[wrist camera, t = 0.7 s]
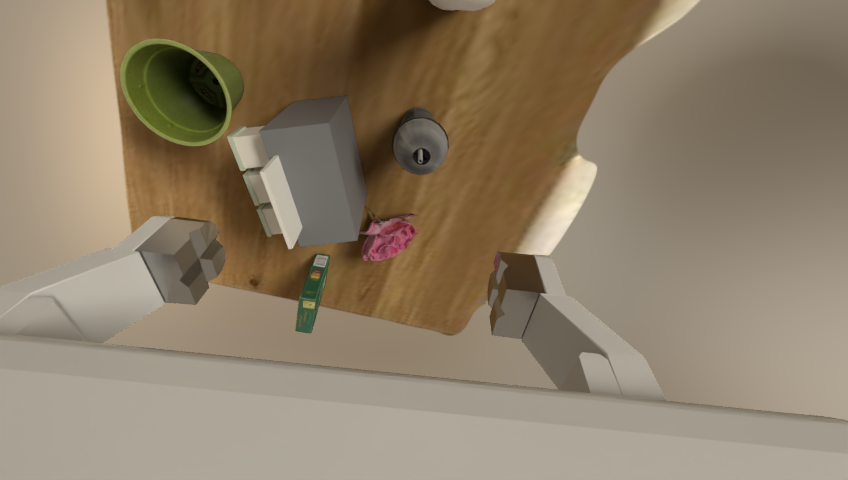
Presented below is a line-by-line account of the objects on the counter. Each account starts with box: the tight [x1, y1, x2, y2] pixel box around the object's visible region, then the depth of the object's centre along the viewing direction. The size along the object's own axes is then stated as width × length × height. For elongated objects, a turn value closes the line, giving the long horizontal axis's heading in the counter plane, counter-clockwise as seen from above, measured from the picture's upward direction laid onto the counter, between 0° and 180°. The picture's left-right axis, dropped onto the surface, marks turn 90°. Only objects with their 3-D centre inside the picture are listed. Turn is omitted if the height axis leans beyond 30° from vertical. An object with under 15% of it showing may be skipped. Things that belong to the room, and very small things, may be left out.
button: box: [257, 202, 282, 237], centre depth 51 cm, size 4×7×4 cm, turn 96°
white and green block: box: [243, 166, 271, 206], centre depth 49 cm, size 4×7×4 cm, turn 96°
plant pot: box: [120, 39, 244, 146], centre depth 46 cm, size 12×12×11 cm
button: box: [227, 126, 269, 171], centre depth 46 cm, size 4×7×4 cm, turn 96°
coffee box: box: [296, 253, 330, 333], centre depth 65 cm, size 8×3×13 cm, turn 164°
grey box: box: [259, 95, 367, 247], centre depth 51 cm, size 16×8×15 cm, turn 6°
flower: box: [359, 205, 418, 261], centre depth 62 cm, size 11×10×10 cm
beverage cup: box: [392, 107, 449, 175], centre depth 47 cm, size 7×7×20 cm
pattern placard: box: [260, 155, 303, 249], centre depth 43 cm, size 10×1×5 cm, turn 6°
